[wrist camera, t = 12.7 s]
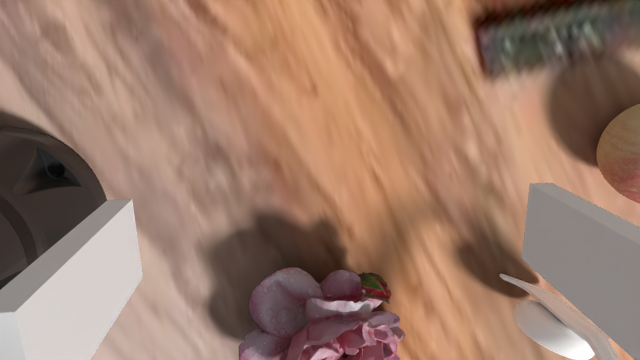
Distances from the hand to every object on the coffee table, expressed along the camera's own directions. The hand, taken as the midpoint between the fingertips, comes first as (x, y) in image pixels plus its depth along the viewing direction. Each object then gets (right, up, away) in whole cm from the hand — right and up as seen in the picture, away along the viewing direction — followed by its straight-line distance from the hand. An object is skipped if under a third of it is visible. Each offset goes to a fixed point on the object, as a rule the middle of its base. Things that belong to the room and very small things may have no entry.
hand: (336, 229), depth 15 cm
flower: (0, -11, +30) cm, 32 cm away
